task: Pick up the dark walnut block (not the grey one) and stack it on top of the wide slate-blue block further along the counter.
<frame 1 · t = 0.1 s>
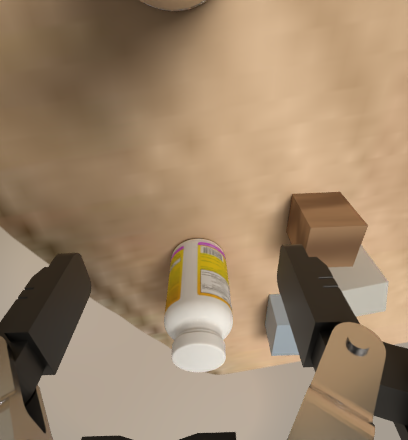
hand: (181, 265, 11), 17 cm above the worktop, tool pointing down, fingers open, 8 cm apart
base block: (290, 308, 41), on the worktop
supplement bottle: (198, 255, 34), on the worktop
grey block: (340, 263, 35), on the worktop
walnut block: (311, 212, 31), on the worktop
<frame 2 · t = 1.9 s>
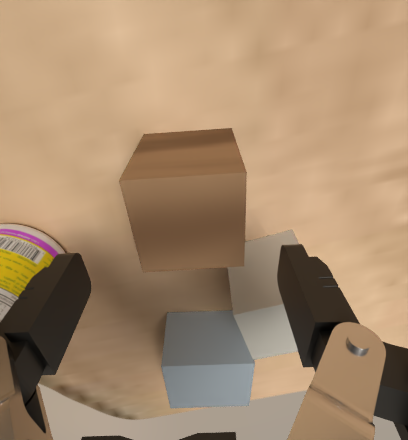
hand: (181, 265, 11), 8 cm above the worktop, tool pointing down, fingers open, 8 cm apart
base block: (207, 332, 27), on the worktop
supplement bottle: (28, 254, 21), on the worktop
grey block: (264, 262, 22), on the worktop
walnut block: (191, 171, 17), on the worktop
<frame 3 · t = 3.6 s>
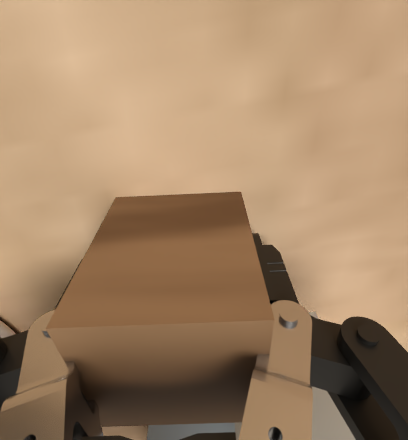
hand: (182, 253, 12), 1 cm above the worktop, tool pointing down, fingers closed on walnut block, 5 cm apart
base block: (201, 413, 22), on the worktop
grey block: (276, 345, 17), on the worktop
walnut block: (183, 244, 12), on the worktop, touching gripper
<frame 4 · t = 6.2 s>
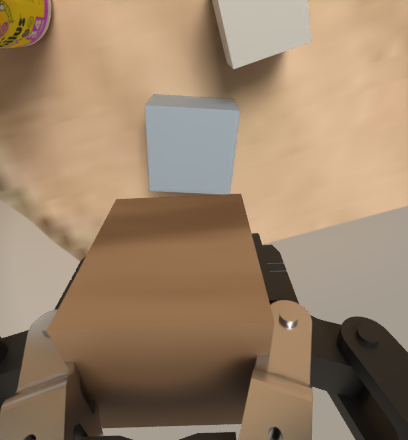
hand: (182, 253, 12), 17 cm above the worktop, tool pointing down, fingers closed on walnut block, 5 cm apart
base block: (192, 135, 26), on the worktop
grey block: (249, 16, 21), on the worktop
walnut block: (183, 245, 12), point 17 cm above the worktop, touching gripper
when the fingers open (7 cm above the worktop, at t = 8.9 s): walnut block drops 1 cm, resting on base block.
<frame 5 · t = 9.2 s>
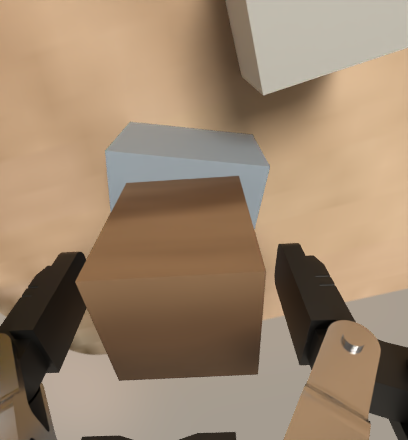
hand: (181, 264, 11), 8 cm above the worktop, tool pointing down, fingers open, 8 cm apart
base block: (187, 182, 18), on the worktop, touching walnut block
walnut block: (187, 225, 14), point 5 cm above the worktop, touching base block
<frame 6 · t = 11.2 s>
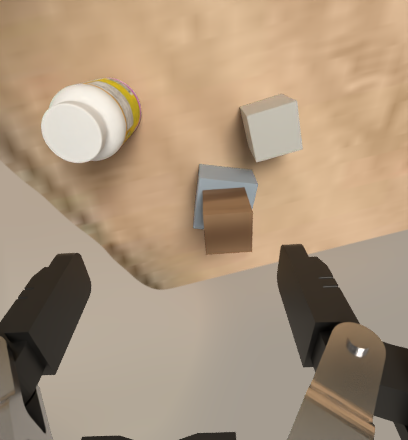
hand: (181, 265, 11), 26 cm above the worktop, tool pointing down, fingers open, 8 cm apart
base block: (221, 190, 39), on the worktop
supplement bottle: (115, 108, 33), on the worktop
grey block: (264, 121, 34), on the worktop
walnut block: (224, 207, 34), point 5 cm above the worktop
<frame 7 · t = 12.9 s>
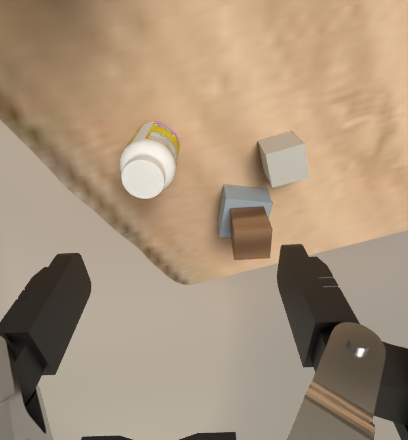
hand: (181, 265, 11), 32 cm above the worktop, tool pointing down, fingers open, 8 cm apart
base block: (241, 204, 47), on the worktop, touching walnut block
supplement bottle: (157, 143, 41), on the worktop
grey block: (277, 151, 42), on the worktop
walnut block: (246, 221, 43), point 5 cm above the worktop, touching base block
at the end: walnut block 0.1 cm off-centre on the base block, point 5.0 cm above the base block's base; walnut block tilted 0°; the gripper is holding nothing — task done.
